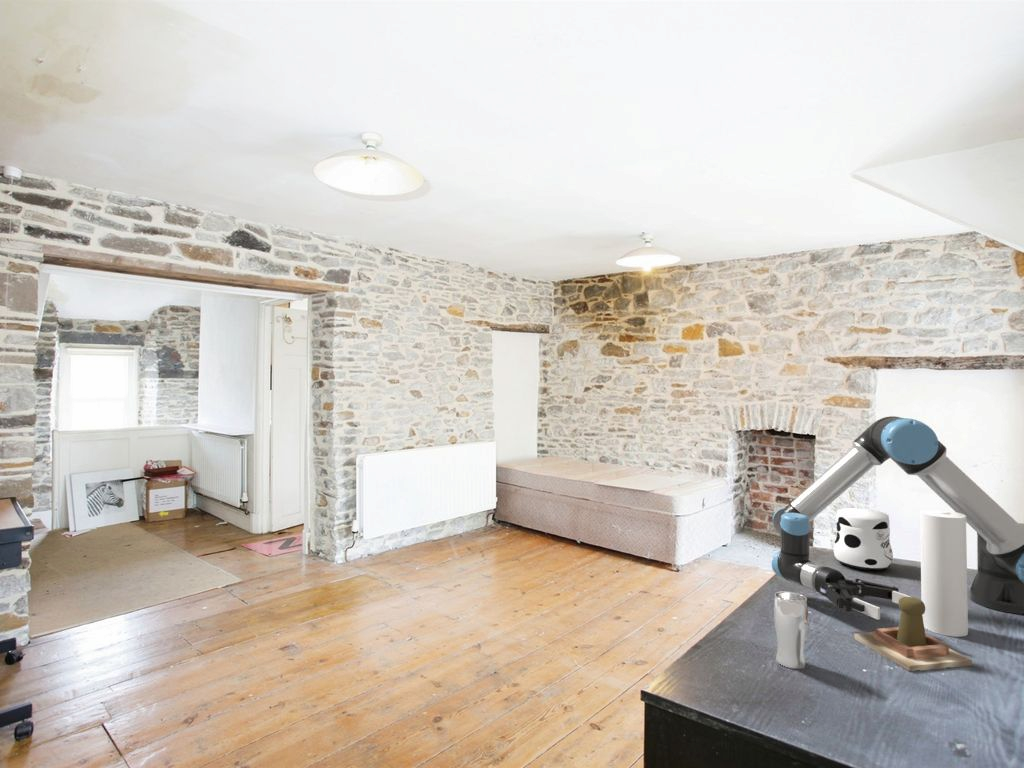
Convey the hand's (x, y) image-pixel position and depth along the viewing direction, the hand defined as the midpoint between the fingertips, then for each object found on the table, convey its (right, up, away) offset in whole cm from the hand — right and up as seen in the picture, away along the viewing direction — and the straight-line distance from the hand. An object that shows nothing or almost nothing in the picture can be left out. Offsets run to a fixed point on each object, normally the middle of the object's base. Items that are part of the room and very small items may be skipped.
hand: (899, 609), depth 135 cm
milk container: (+28, -8, +59) cm, 66 cm away
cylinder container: (+18, -9, +10) cm, 23 cm away
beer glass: (-30, -9, -7) cm, 32 cm away
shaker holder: (+1, -9, -2) cm, 9 cm away
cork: (+2, -8, -1) cm, 8 cm away
